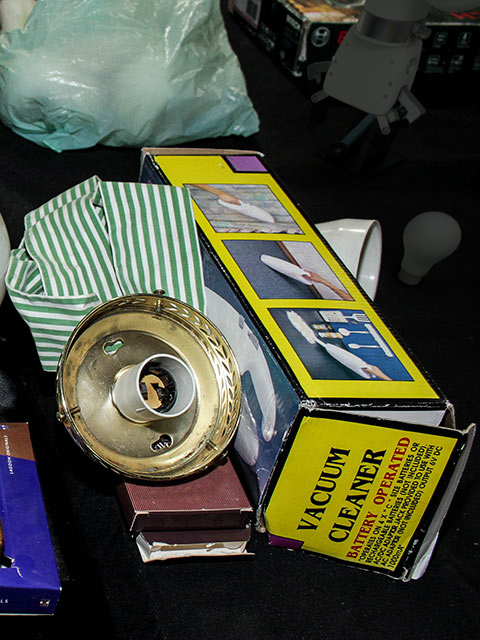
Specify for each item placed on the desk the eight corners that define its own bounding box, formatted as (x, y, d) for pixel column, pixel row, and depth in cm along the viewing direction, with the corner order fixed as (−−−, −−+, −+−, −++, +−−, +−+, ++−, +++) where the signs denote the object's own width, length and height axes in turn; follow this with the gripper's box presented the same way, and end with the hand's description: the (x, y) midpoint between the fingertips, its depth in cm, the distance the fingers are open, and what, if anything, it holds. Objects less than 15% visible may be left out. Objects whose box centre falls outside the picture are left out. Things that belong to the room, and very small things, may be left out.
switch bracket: (362, 185, 131) (394, 114, 123) (316, 161, 136) (344, 91, 128) (401, 165, 135) (435, 95, 127) (355, 142, 140) (385, 74, 132)
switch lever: (337, 171, 129) (338, 158, 126) (319, 161, 131) (318, 148, 128) (400, 109, 129) (402, 95, 126) (381, 100, 131) (382, 86, 128)
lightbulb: (433, 280, 115) (473, 211, 107) (426, 306, 111) (467, 237, 104) (383, 264, 117) (419, 196, 110) (375, 289, 113) (411, 220, 106)
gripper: (469, 40, 111) (414, 158, 122) (347, -3, 122) (308, 109, 133) (435, 55, 108) (383, 174, 119) (314, 9, 118) (276, 123, 130)
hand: (343, 140), depth 126 cm, fingers open, 9 cm apart
